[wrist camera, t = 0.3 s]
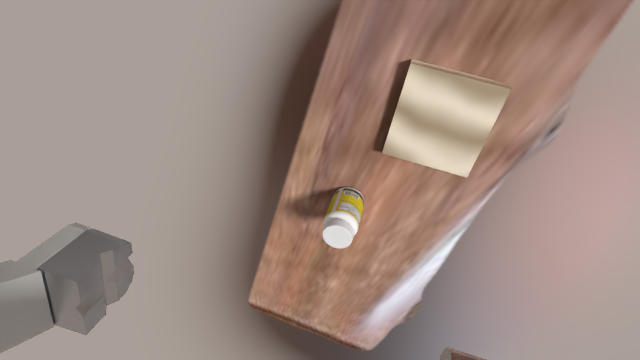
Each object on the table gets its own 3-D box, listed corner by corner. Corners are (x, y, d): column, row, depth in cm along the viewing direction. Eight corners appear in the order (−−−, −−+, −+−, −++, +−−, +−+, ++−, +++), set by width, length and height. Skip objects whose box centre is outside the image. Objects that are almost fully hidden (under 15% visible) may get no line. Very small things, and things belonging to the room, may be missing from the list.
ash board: (411, 59, 44) (410, 63, 43) (509, 84, 43) (511, 89, 41) (383, 147, 51) (381, 153, 50) (466, 171, 50) (467, 177, 49)
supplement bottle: (340, 214, 59) (327, 253, 53) (328, 190, 57) (313, 226, 51) (369, 208, 57) (360, 247, 51) (357, 182, 55) (346, 220, 49)
